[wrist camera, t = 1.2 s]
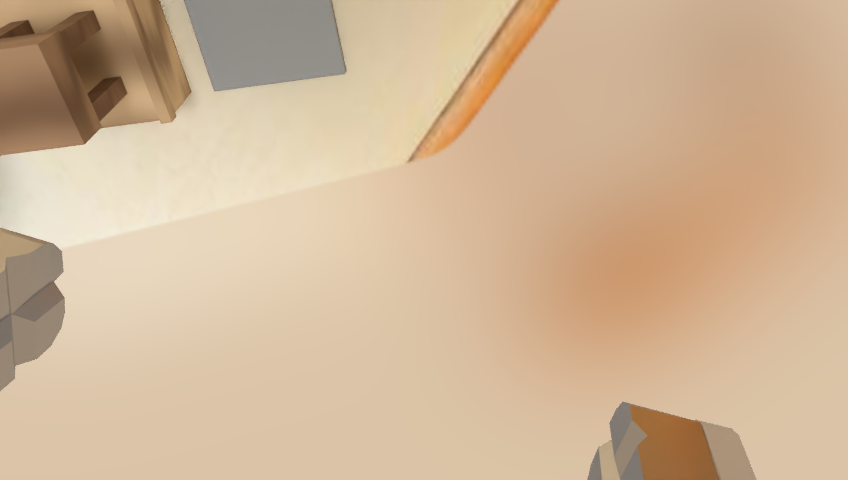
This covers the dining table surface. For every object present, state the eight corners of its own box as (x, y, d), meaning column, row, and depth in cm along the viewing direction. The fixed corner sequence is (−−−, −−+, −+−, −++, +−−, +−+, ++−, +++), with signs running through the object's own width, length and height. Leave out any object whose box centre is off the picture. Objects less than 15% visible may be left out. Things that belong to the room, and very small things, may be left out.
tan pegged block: (6, 19, 43) (-66, 59, 36) (95, 6, 42) (37, 44, 36) (48, 106, 46) (-11, 156, 40) (131, 95, 45) (84, 144, 39)
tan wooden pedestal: (-1, -30, 46) (-44, -11, 41) (142, -52, 45) (112, -35, 41) (66, 111, 51) (34, 140, 47) (193, 94, 51) (171, 122, 46)
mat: (170, -53, 45) (167, -51, 44) (315, -75, 44) (314, -73, 43) (216, 88, 50) (214, 91, 50) (346, 70, 50) (345, 73, 49)
